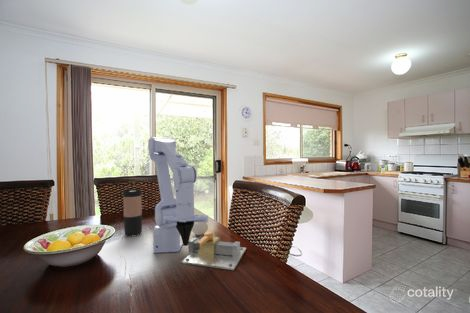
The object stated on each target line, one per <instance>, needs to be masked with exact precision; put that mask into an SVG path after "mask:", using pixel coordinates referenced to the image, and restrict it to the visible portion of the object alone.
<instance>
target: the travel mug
mask: <svg viewBox="0 0 470 313" xmlns="http://www.w3.org/2000/svg"><path fill="white" fill-rule="evenodd" d="M122 194H123V225H124V228H123V229H124V236H125V235H127V236H126V237H133V236H132V235H136V236H138V235H137V234H139V235H141V234H142V233H141V232H143V230H142V229H143V228H142V227H143V226H142V225H143V209H142V208H143V207H142V206H143V205H142V190H141V189H140V188H139V189H138V188H134V189H133V188H132V189H126V190H123V193H122ZM140 233H141V234H140Z"/></svg>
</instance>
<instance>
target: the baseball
mask: <svg viewBox="0 0 470 313" xmlns="http://www.w3.org/2000/svg"><path fill="white" fill-rule="evenodd" d="M208 229H209V226H208V222H207V223H204V222H195V223H194V225H193V228H192V231H191V233H193V234H194V235H196V236H202V235H204V233H206V232H208Z"/></svg>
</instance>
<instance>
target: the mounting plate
mask: <svg viewBox="0 0 470 313" xmlns="http://www.w3.org/2000/svg"><path fill="white" fill-rule="evenodd" d="M246 250H247V247H242V246H240V253H239V255H238V256H237V257H232V256H231V255H222V254H215V255H214V256H212V255H203V254H198V252H195V251H194V252H192V253H189V254H188V255H187V256H186V257H185V258H184V259H183V260H181V262H180V263H181V264H183V265H190V266H198V267H204V268H205V267H206V268H212V269H213V268H214V269H220V270H221V269H222V270H230V271H235V269H236V267H237V266H238V264H239V262H240V260H241V259H242V257H243V256H244V253H245V252H246Z"/></svg>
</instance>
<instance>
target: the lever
mask: <svg viewBox="0 0 470 313" xmlns="http://www.w3.org/2000/svg"><path fill="white" fill-rule="evenodd" d="M213 237H214V232H211V231H206V232H205V233H204V234H203V237H201V238H202V239H201V238H200V239H201V240H200V239H199V240H200V241H199V242H196V243H193V250H199V249H200V247H201V246H202V245H204V244H205V243H206V242H207V241H208V240H212V239H213Z"/></svg>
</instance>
